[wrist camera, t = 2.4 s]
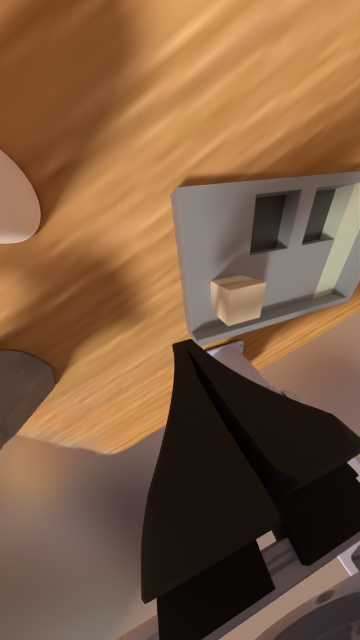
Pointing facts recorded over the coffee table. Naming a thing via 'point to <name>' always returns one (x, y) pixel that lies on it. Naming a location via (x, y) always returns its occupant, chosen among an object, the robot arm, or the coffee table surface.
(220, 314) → the block
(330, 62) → the coffee table surface
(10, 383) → the coffeepot
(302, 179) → the box
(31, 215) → the can
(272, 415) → the robot arm
